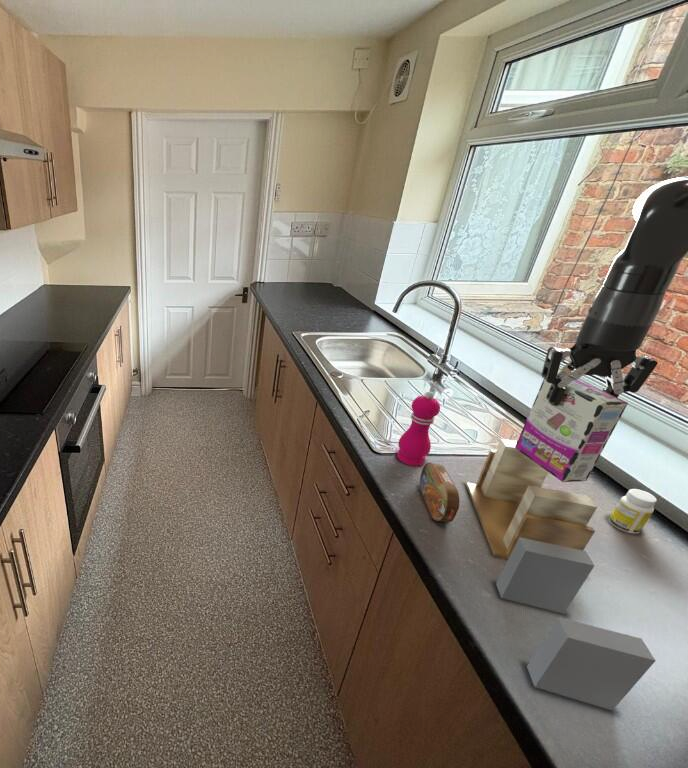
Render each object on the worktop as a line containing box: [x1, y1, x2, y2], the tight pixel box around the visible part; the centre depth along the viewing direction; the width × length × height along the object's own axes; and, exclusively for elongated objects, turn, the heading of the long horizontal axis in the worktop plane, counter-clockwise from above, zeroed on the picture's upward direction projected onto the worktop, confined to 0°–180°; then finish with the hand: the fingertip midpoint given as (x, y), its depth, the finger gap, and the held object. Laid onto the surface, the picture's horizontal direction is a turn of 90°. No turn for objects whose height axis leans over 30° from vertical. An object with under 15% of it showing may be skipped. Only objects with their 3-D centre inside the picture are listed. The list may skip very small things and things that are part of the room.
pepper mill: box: [396, 391, 441, 467], centre depth 104 cm, size 7×7×20 cm
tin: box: [419, 462, 460, 523], centre depth 91 cm, size 15×3×8 cm, turn 167°
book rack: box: [465, 438, 598, 560], centre depth 84 cm, size 14×22×15 cm, turn 160°
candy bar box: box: [515, 378, 629, 483], centre depth 76 cm, size 11×5×16 cm, turn 4°
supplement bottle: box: [608, 488, 658, 534], centre depth 85 cm, size 5×5×8 cm
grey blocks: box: [495, 537, 656, 711], centre depth 64 cm, size 9×18×12 cm, turn 160°
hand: (576, 406), depth 74 cm, fingers closed on candy bar box, 6 cm apart
